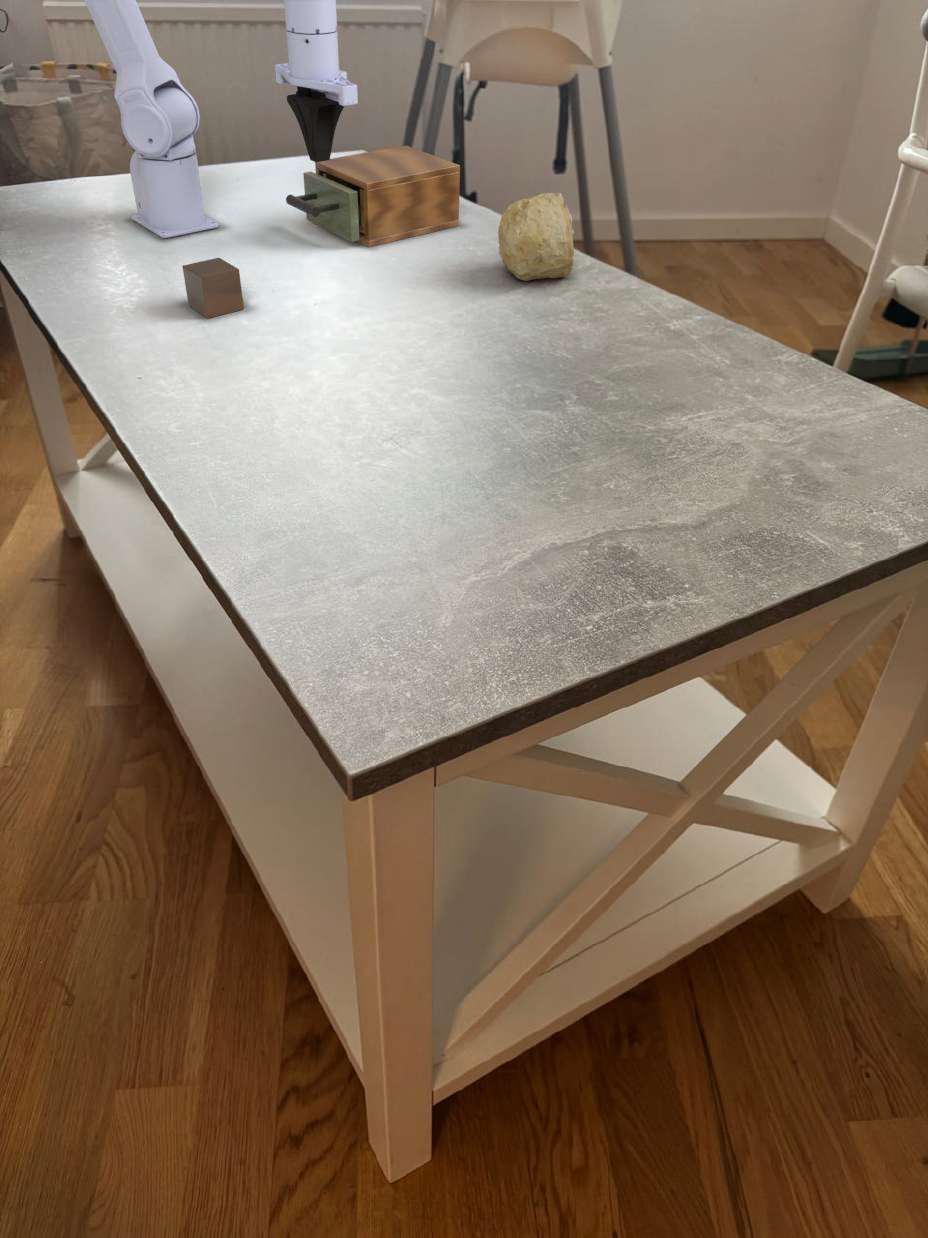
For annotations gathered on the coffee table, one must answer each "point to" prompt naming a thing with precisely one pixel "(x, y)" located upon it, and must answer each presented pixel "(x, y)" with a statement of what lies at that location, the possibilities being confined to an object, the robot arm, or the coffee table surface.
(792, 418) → the coffee table surface
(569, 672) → the coffee table surface
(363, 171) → the cabinet
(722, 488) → the coffee table surface
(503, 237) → the beige lumpy stone
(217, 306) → the block
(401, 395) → the coffee table surface
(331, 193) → the drawer
